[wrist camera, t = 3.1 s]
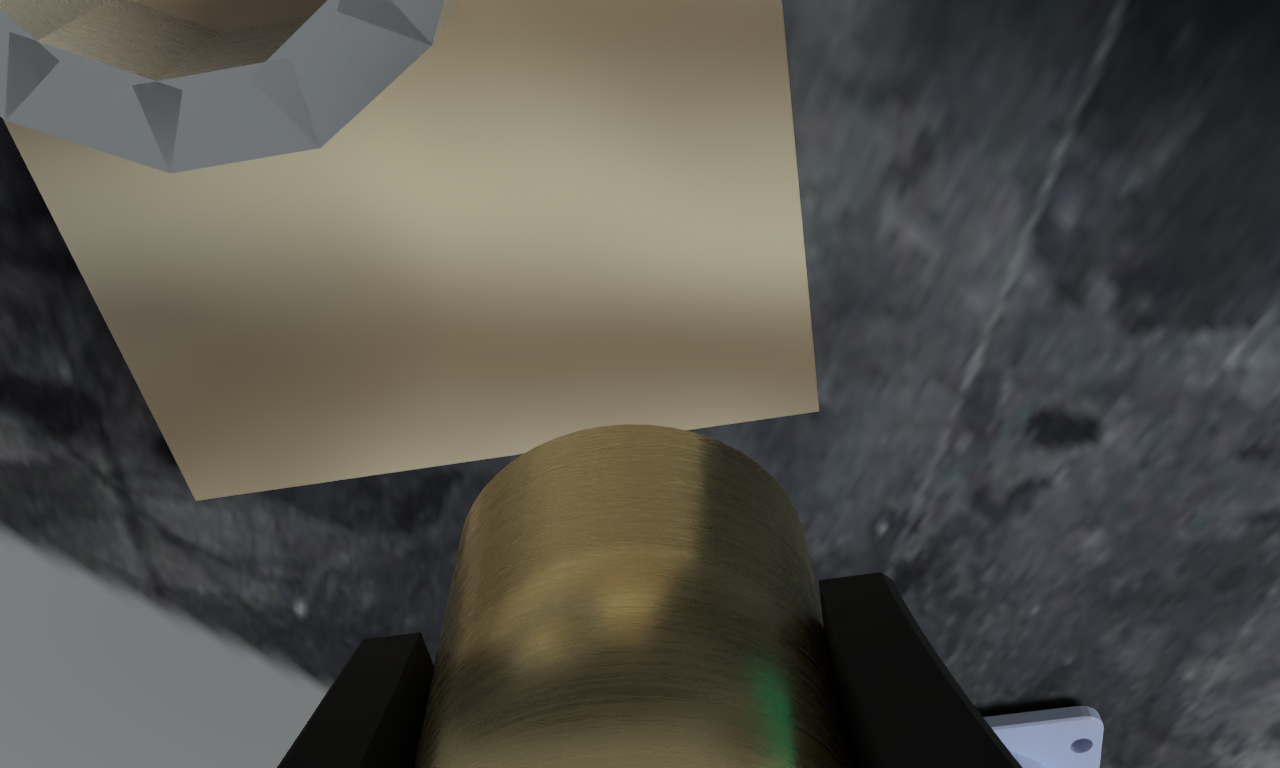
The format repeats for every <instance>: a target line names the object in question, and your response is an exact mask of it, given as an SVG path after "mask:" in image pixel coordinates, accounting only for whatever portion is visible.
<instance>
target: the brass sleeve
mask: <svg viewBox="0 0 1280 768" xmlns="http://www.w3.org/2000/svg"><path fill="white" fill-rule="evenodd" d="M414 768H855V766H854V761H853V757H852V752H851V748H850V743H849V738H848V734H847V729H846V725H845V721H844V718H843V714H842V710H841V706H840V701H839V697H838V692H837V687H836V683H835V678H834V674H833V669H832V664H831V660H830V655H829V651H828V646H827V641H826V637H825V632H824V627H823V619H822V615H821V610H820V606H819V601H818V596H817V592H816V587H815V583H814V578H813V574H812V569H811V564H810V560H809V555H808V551H807V546H806V542H805V537H804V532H803V528H802V525H801V522H800V519H799V517H798V514H797V512H796V509H795V508H794V506H793V504H792V502H791V501H790V499H789V497H788V496H787V494H786V493H785V491H784V490H783V489H782V488H781V487H780V485H779V484H778V483H777V482H776V480H775V479H774V478H773V477H772V476H771V475H770V474H768V473H767V472H766V471H765V470H764V469H763V468H762V467H761V466H760V465H759V464H757V463H756V462H754V461H753V460H751V459H750V458H748V457H747V456H745V455H744V454H743V453H741V452H739V451H737V450H735V449H733V448H732V447H730V446H728V445H726V444H724V443H722V442H720V441H717V440H714V439H711V438H709V437H706V436H703V435H701V434H698V433H694V432H689V431H685V430H681V429H677V428H671V427H663V426H656V425H633V424H624V425H613V426H602V427H596V428H591V429H586V430H581V431H576V432H573V433H570V434H567V435H564V436H561V437H558V438H555V439H552V440H550V441H548V442H546V443H544V444H541V445H539V446H537V447H535V448H533V449H531V450H529V451H528V452H526V453H525V454H523V455H521V456H520V457H518V458H516V459H515V460H513V461H512V462H511V463H510V464H508V465H507V466H506V467H505V468H504V469H502V470H501V471H500V472H499V473H497V474H496V476H495V477H494V478H493V479H492V480H491V481H490V482H489V483H488V484H487V485H486V486H485V487H484V489H483V490H482V492H481V493H480V494H479V496H478V497H477V499H476V500H475V502H474V503H473V505H472V507H471V509H470V511H469V514H468V516H467V518H466V520H465V523H464V527H463V530H462V534H461V538H460V542H459V547H458V552H457V557H456V562H455V567H454V572H453V577H452V582H451V587H450V592H449V597H448V602H447V607H446V612H445V617H444V622H443V627H442V631H441V636H440V641H439V646H438V651H437V656H436V661H435V666H434V671H433V676H432V681H431V686H430V691H429V696H428V701H427V706H426V711H425V716H424V720H423V725H422V730H421V735H420V740H419V745H418V750H417V755H416V760H415V765H414Z"/></svg>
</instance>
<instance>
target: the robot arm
mask: <svg viewBox="0 0 1280 768" xmlns="http://www.w3.org/2000/svg"><path fill="white" fill-rule="evenodd" d="M819 587H820V597H821V607H822V617H823V627H824V632H825V637H826V641H827V646H828V651H829V655H830V660H831V664H832V669H833V674H834V678H835V683H836V687H837V692H838V697H839V701H840V706H841V710H842V714H843V718H844V721H845V725H846V729H847V734H848V738H849V743H850V748H851V752H852V757H853V761H854V766H855V768H1099V767H1100V758H1101V748H1102V739H1103V729H1104V727H1103V723H1102V720H1101V718H1100V716H1099V714H1098V712H1097V711H1096V710H1095V709H1094V708H1091V707H1088V706H1072V707H1064V708H1056V709H1047V710H1039V711H1030V712H1022V713H1014V714H1005V715H997V716H989V717H982V715H981V714H980V713H979V711H978V710H977V709H976V708H975V706H974V705H973V704H972V702H971V701H970V700H969V698H968V697H967V695H966V694H965V693H964V691H963V690H962V689H961V687H960V686H959V685H958V683H957V682H956V680H955V679H954V678H953V676H952V675H951V673H950V672H949V670H948V669H947V667H946V666H945V665H944V663H943V662H942V660H941V659H940V657H939V656H938V654H937V653H936V652H935V650H934V649H933V647H932V646H931V644H930V643H929V641H928V639H927V638H926V636H925V635H924V633H923V632H922V630H921V629H920V627H919V626H918V624H917V622H916V621H915V619H914V617H913V616H912V614H911V612H910V611H909V609H908V607H907V606H906V604H905V602H904V600H903V599H902V597H901V595H900V593H899V591H898V590H897V588H896V586H895V584H894V582H893V580H892V579H890V578H889V577H887V576H886V575H884V574H883V573H881V572H879V573H872V574H864V575H856V576H849V577H841V578H833V579H826V580H819ZM433 671H434V665H433V663H432V660H431V658H430V655H429V652H428V650H427V647H426V645H425V642H424V640H423V637H422V635H421V632H420V633H412V634H405V635H397V636H389V637H382V638H374V639H366V640H363V641H362V642H361V643H360V645H359V646H358V647H357V648H356V650H355V651H354V653H353V654H352V656H351V657H350V659H349V660H348V662H347V663H346V665H345V666H344V668H343V669H342V671H341V672H340V674H339V675H338V677H337V678H336V680H335V681H334V683H333V684H332V686H331V687H330V689H329V690H328V692H327V693H326V695H325V696H324V698H323V699H322V701H321V703H320V704H319V706H318V707H317V709H316V710H315V712H314V713H313V715H312V716H311V718H310V719H309V721H308V722H307V724H306V725H305V727H304V728H303V730H302V731H301V733H300V734H299V736H298V737H297V739H296V740H295V742H294V743H293V745H292V746H291V748H290V749H289V751H288V752H287V754H286V755H285V757H284V758H283V760H282V761H281V762H280V764H279V765H278V767H277V768H414V765H415V760H416V755H417V750H418V745H419V740H420V735H421V730H422V725H423V720H424V716H425V711H426V706H427V701H428V696H429V691H430V686H431V681H432V676H433Z"/></svg>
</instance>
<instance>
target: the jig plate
mask: <svg viewBox="0 0 1280 768" xmlns="http://www.w3.org/2000/svg"><path fill="white" fill-rule="evenodd" d="M132 1H134V2H137V3H140V4H143V5H146V6H149V7H152V8H154V9H157V10H160V11H163V12H166V13H169V14H172V15H174V16H177V17H180V18H183V19H186V20H189V21H192V22H194V23H197V24H200V25H203V26H206V27H209V28H212V29H214V30H217V31H220V32H221V31H226V30H232V29H237V28H243V27H248V26H254V25H259V24H265V23H270V22H276V21H282V20H287V19H293V18H298V17H304V16H309V15H313V14H314V13H315V12H316V11H317V10H318V9H319V8H320V7H321V6H322V5H323V4H324V3H325V2H326V1H327V0H132ZM3 120H4V119H3ZM4 122H5V124H6V126H7V128H8V130H9V132H10V134H11V136H12V138H13V140H14V142H15V144H16V146H17V148H18V150H19V152H20V154H21V156H22V158H23V160H24V162H25V164H26V166H27V168H28V170H29V172H30V174H31V176H32V177H33V179H34V181H35V183H36V185H37V187H38V189H39V191H40V193H41V195H42V197H43V199H44V201H45V203H46V205H47V207H48V209H49V211H50V213H51V215H52V217H53V219H54V221H55V223H56V225H57V227H58V229H59V231H60V233H61V235H62V237H63V239H64V241H65V243H66V245H67V247H68V249H69V251H70V253H71V255H72V257H73V259H74V261H75V263H76V265H77V266H78V268H79V270H80V272H81V274H82V276H83V278H84V280H85V282H86V284H87V286H88V288H89V290H90V292H91V294H92V296H93V298H94V300H95V302H96V304H97V306H98V308H99V310H100V312H101V314H102V316H103V318H104V320H105V322H106V324H107V326H108V328H109V330H110V332H111V334H112V336H113V338H114V340H115V342H116V344H117V346H118V348H119V350H120V352H121V353H122V355H123V357H124V359H125V361H126V363H127V365H128V367H129V369H130V371H131V373H132V375H133V377H134V379H135V381H136V383H137V385H138V387H139V389H140V391H141V393H142V395H143V397H144V399H145V401H146V403H147V405H148V407H149V409H150V411H151V413H152V415H153V417H154V419H155V421H156V423H157V425H158V427H159V429H160V431H161V433H162V435H163V437H164V439H165V441H166V442H167V444H168V446H169V448H170V450H171V452H172V454H173V456H174V458H175V460H176V462H177V464H178V466H179V468H180V470H181V472H182V474H183V476H184V478H185V480H186V482H187V484H188V486H189V488H190V490H191V492H192V494H193V496H194V498H195V500H196V501H198V500H204V499H211V498H218V497H225V496H232V495H239V494H246V493H253V492H260V491H267V490H274V489H281V488H288V487H295V486H302V485H309V484H316V483H323V482H330V481H337V480H344V479H351V478H358V477H365V476H372V475H378V474H385V473H392V472H399V471H406V470H413V469H420V468H427V467H434V466H441V465H448V464H455V463H462V462H469V461H476V460H483V459H490V458H497V457H504V456H511V455H518V454H525V453H526V452H528V451H529V450H531V449H533V448H535V447H537V446H539V445H541V444H544V443H546V442H548V441H550V440H552V439H555V438H558V437H561V436H564V435H567V434H570V433H573V432H576V431H581V430H586V429H591V428H596V427H602V426H613V425H624V424H633V425H656V426H663V427H671V428H677V429H681V430H692V429H699V428H706V427H713V426H720V425H727V424H733V423H740V422H747V421H754V420H761V419H768V418H775V417H782V416H789V415H796V414H803V413H810V412H817V411H819V403H818V392H817V381H816V370H815V359H814V348H813V337H812V326H811V315H810V304H809V293H808V282H807V271H806V260H805V249H804V238H803V227H802V216H801V205H800V194H799V183H798V172H797V161H796V150H795V139H794V128H793V117H792V106H791V95H790V84H789V73H788V62H787V51H786V40H785V29H784V18H783V7H782V0H459V1H458V3H457V4H456V6H455V8H454V9H453V11H452V13H451V14H450V16H449V18H448V20H447V21H446V23H445V25H444V26H443V28H442V30H441V32H440V33H439V35H438V37H437V38H436V40H435V42H434V43H433V45H432V46H431V47H430V48H429V49H428V50H427V51H426V52H425V53H423V54H422V55H421V56H420V57H419V58H418V59H417V60H416V61H415V62H414V63H413V64H411V65H410V66H409V67H408V68H407V69H406V70H405V71H404V72H403V73H402V74H401V75H400V76H398V77H397V78H396V79H395V80H394V81H393V82H392V83H391V84H390V85H389V86H388V87H386V88H385V89H384V90H383V91H382V92H381V93H380V94H379V95H378V96H377V97H376V98H375V99H373V100H372V101H371V102H370V103H369V104H368V105H367V106H366V107H365V108H364V109H363V110H362V111H360V112H359V113H358V114H357V115H356V116H355V117H354V118H353V119H352V120H351V121H350V122H348V123H347V124H346V125H345V126H344V127H343V128H342V129H341V130H340V131H339V132H338V133H337V134H335V135H334V136H333V137H332V138H331V139H330V140H329V141H328V142H327V143H326V144H325V145H324V146H322V147H321V148H318V149H312V150H306V151H300V152H295V153H289V154H283V155H277V156H271V157H265V158H259V159H253V160H247V161H242V162H236V163H230V164H224V165H218V166H212V167H206V168H200V169H194V170H189V171H183V172H177V173H171V174H170V173H167V172H164V171H161V170H158V169H154V168H151V167H148V166H145V165H142V164H139V163H136V162H133V161H130V160H126V159H123V158H120V157H117V156H114V155H111V154H108V153H105V152H101V151H98V150H95V149H92V148H89V147H86V146H83V145H80V144H77V143H73V142H70V141H67V140H64V139H61V138H58V137H55V136H52V135H48V134H45V133H42V132H39V131H36V130H33V129H30V128H27V127H24V126H20V125H17V124H14V123H11V122H8V121H5V120H4Z"/></svg>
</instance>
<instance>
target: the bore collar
mask: <svg viewBox="0 0 1280 768" xmlns="http://www.w3.org/2000/svg"><path fill="white" fill-rule="evenodd" d="M458 1H459V0H327V1H326V2H325V3H324V4H323V5H322V6H321V7H320V8H319V9H318V10H317V11H316V12H315V13H314V14H313V15H309V16H304V17H298V18H293V19H287V20H282V21H276V22H270V23H265V24H259V25H254V26H248V27H243V28H237V29H232V30H226V31H221V32H220V31H217V30H214V29H212V28H209V27H206V26H203V25H200V24H197V23H194V22H192V21H189V20H186V19H183V18H180V17H177V16H174V15H172V14H169V13H166V12H163V11H160V10H157V9H154V8H152V7H149V6H146V5H143V4H140V3H137V2H134V1H132V0H0V117H2V118H3V119H4V120H5V121H8V122H11V123H14V124H17V125H20V126H24V127H27V128H30V129H33V130H36V131H39V132H42V133H45V134H48V135H52V136H55V137H58V138H61V139H64V140H67V141H70V142H73V143H77V144H80V145H83V146H86V147H89V148H92V149H95V150H98V151H101V152H105V153H108V154H111V155H114V156H117V157H120V158H123V159H126V160H130V161H133V162H136V163H139V164H142V165H145V166H148V167H151V168H154V169H158V170H161V171H164V172H167V173H170V174H171V173H177V172H183V171H189V170H194V169H200V168H206V167H212V166H218V165H224V164H230V163H236V162H242V161H247V160H253V159H259V158H265V157H271V156H277V155H283V154H289V153H295V152H300V151H306V150H312V149H318V148H321V147H322V146H324V145H325V144H326V143H327V142H328V141H329V140H330V139H331V138H332V137H333V136H334V135H335V134H337V133H338V132H339V131H340V130H341V129H342V128H343V127H344V126H345V125H346V124H347V123H348V122H350V121H351V120H352V119H353V118H354V117H355V116H356V115H357V114H358V113H359V112H360V111H362V110H363V109H364V108H365V107H366V106H367V105H368V104H369V103H370V102H371V101H372V100H373V99H375V98H376V97H377V96H378V95H379V94H380V93H381V92H382V91H383V90H384V89H385V88H386V87H388V86H389V85H390V84H391V83H392V82H393V81H394V80H395V79H396V78H397V77H398V76H400V75H401V74H402V73H403V72H404V71H405V70H406V69H407V68H408V67H409V66H410V65H411V64H413V63H414V62H415V61H416V60H417V59H418V58H419V57H420V56H421V55H422V54H423V53H425V52H426V51H427V50H428V49H429V48H430V47H431V46H432V45H433V43H434V42H435V40H436V38H437V37H438V35H439V33H440V32H441V30H442V28H443V26H444V25H445V23H446V21H447V20H448V18H449V16H450V14H451V13H452V11H453V9H454V8H455V6H456V4H457V3H458Z"/></svg>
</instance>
